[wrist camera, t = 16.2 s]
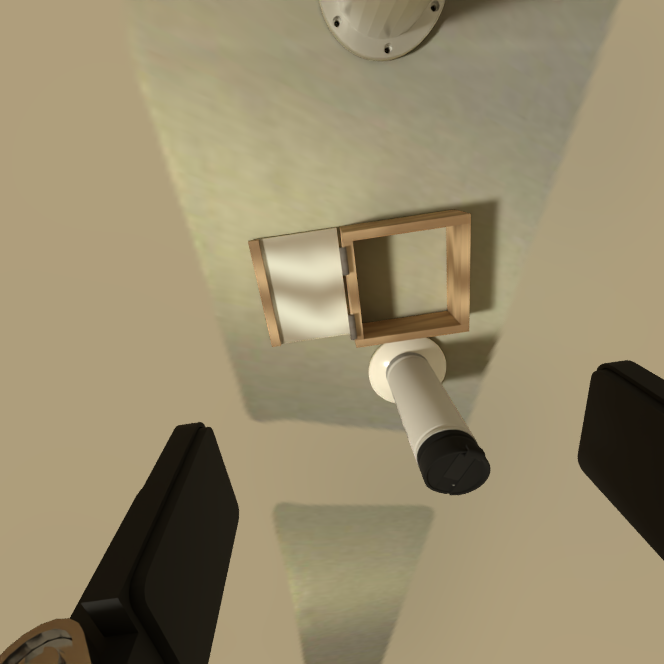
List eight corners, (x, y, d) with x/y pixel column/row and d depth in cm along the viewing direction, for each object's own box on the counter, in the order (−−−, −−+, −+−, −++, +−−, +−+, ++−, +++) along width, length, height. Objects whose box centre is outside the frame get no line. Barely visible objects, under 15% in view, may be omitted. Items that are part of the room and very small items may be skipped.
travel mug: (438, 357, 51) (508, 460, 33) (417, 394, 53) (471, 510, 35) (397, 343, 50) (447, 442, 32) (378, 382, 52) (414, 495, 34)
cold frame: (249, 240, 44) (240, 249, 39) (454, 209, 44) (473, 214, 39) (272, 343, 50) (268, 363, 45) (454, 316, 50) (471, 333, 44)
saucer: (364, 339, 50) (365, 342, 50) (443, 328, 50) (445, 330, 50) (372, 405, 55) (372, 408, 54) (444, 395, 55) (446, 398, 54)
